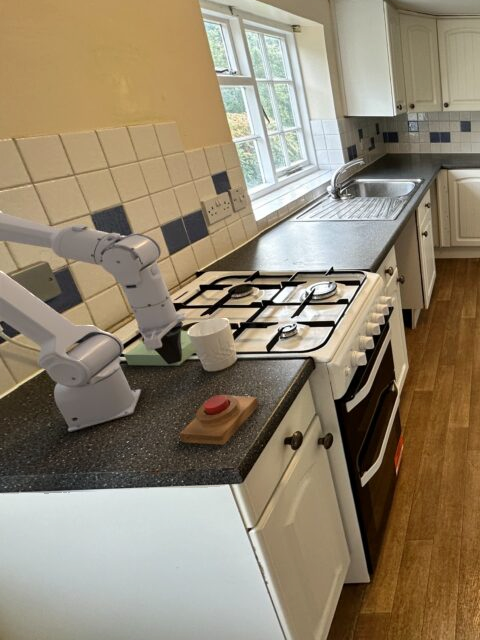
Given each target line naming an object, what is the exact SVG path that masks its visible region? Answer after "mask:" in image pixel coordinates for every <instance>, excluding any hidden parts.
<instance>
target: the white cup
mask: <svg viewBox="0 0 480 640" xmlns="http://www.w3.org/2000/svg"><path fill="white" fill-rule="evenodd" d="M186 331H187V333H188V336H189V338H190V340H191V343H192V345H193V347H194V350H195V354H196V356H197V358H198V360H199V361H200V363H201V366H202V368H203V370H205V371H206V372H217V371H221V370H225V369H226V368H229V367H231V366H233V364H235V363H236V362H237V360H238V355H237V351H236V343H235V338H234V334H233V330H232V327H231V322H230V320H229V319H228V318H226V317H212V318H208V319H204V320H202V321H199V322H196V323H194V324H193V325H191V326H190V327H189V328H188V329H187V330H186Z"/></svg>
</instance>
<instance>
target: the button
mask: <svg viewBox="0 0 480 640" xmlns="http://www.w3.org/2000/svg"><path fill="white" fill-rule="evenodd" d="M225 395H226V394H219V395H215V396H212V397H210V398H208V399H207V400H206V401H205V402H204V403H205V404H204V403H203V404H204V408H205V410H206V413H207V414H208V415H215V414H218V413H220V412H222V411H224V410H226V409H227V408H228V407H229V403H228V400H227V397H226V396H225Z"/></svg>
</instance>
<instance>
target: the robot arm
mask: <svg viewBox="0 0 480 640" xmlns="http://www.w3.org/2000/svg"><path fill="white" fill-rule="evenodd" d="M0 241H2V242H9V243H15V244H21V245H28V246H34V247H40V248H41V247H42V248H48V249H51V250H52V252H53V253H54V254H55V255H56V256H57V257H59V258H61V259H67V260H72V261H77V262H81V263H87V264H91V265H96V266H101V267H102V268H103V269H104V270H105V271H106V272H107V273H108V274H110V275H111V276H113V278H114V280H115V282H116V283H117V284H119V285H120V286H121V289H122V291H123V293H124V296H125V298H126V300H127V302H128V305H129V307H130V310H131V311H132V313H133V316H134V318H135V321H136V323H137V330H138V331H139V332H140V334H141V336H142V339H141V342H143V343H144V344H145V346H146V349H147V350H152V349H154V350H155V351H156V352H157V353H158V354H159V355H160V356H161V357H162V358H163V359H164V360H165V361H166V362H167V363H168V364H173V363H176V362H180V361H181V360H182V348H181V331H182V330H183V329H182V328H183V324H184V323H183V322H184V321H185V320H187V315H186V313H178V312H177V311H176V308H175V305H174V303H173V300H172V297H171V294H170V292H169V290H168V287H167V284H166V282H165V279H164V277H163V274H162V271H161V268H160V267H159V264H158V262H157V261H158V260H159V258H160V257H161V253H162V250H161V247H160V245H159V243H158V242H157V241H156V240H155V239H154V238H153V237H150V236H149V235H145V234H143V233H140V232H134V233H131V234H129V235H121V234H120V233H117V232H111V233H110V232H106V231H101V230H97V229H93V228H89V226H88V225H87V224H83V223H77V224H75V225H73V224H71V225H67V226H64V227H62V228H59V227H55V226H51V225H47V224H44V223H40V222H36V221H34V220H29V219H25V218H23V217H18V216H14V215H12V214H7V213H3V212H2V211H1V210H0ZM0 320H1V321H2V322H4V323H5V324H7V325H8V326H10V327H11V328H13V329H14V330H15V331H17V332H18V333H20V334H21V335H23V336H24V337H26V338H27V339H29V340H30V341H31V342H33V343H34V344H36V345H37V346H39V347H40V350H39V353H38V354H39V355H38V357H37V362H36V364H37V365H38V366H39V367H41V368H42V369H44V371H46V373H47V375H48V376H49V377H50V379H52V381H54V382H55V383H56V384H55V387H54V390H53V396H54V402H55V404H56V407H57V408H58V410H59V412H60V413H61V416H62V417H63V419H64V421H65V423H66V424H67V426H68V428H67V431H68V433H70V432H71V433H72V432H75V431H77V430H82V429H85V428H88V427H91V426H95V425H98V424H103V423H105V422H110V421H112V420H117V419H120V418H124V417H126V416H130V415H132V414H133V413H134V412H135V409H136V407H137V405H138V401H139V398H140V396H141V393H142V389H139V388H138V389H134V390H132V389H131V387H130V385H129V382H128V380H127V377H126V376H125V373H124V371H123V369H122V366H121V365H120V363H121V362H122V359H121V357H120V356H121V355H122V354H123V352H124V349H125V348H124V344H123V342H122V340H121V339H120V338H119V337H118V336H116V335H115V334H112V333H110V332H108V331H105V330H102V329H100V328H99V327H98V326H96V325H95V324H74V323H73V322H71V320H69V319H68V318H66V317H65V316H63V315H62V314H61V313H60V312H57V310H55V309H54V308H53V307H51V306H50V305H48V304H47V303H45V302H44V301H43V300H41V299H40V298H39V297H37V295H35V294H33V293H32V292H31V291H30V290H28V289H26V288H25V287H24V286H23V285H21V284H20V283H18V282H17V281H16V280H14V278H13V279H12V277H10V276H9V275H7V274H6V273H5V272H3V271H2V270H0ZM75 344H76V345H75ZM73 345H75V346H73ZM71 346H73V347H72V348H71V349H69V350H68V348H69V347H71Z"/></svg>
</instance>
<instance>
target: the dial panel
mask: <svg viewBox="0 0 480 640" xmlns="http://www.w3.org/2000/svg"><path fill="white" fill-rule="evenodd" d="M187 331H188V330H181V348H182V360H181V361H180V362H176V363H173V364H168V363H167V362H166V361H165V360H164V359H163V358H162V357H161V356H160V355H159V354H158V353H157V352H156V351H155V350H154V349H152V350H147V349H146V346H145V344H144V343H143V341H141V342H140V343H138V344H137V345H136V346H134V347H133V348H131V349H130V350H128V351H127V352H125V353H124V354H123V356H124V359H125V361H126V363H127V365H128V366H180V365H182V364H183V363H184V362H185V361H186V360H187V359H189V358H190V357H191V356H192V355H193V354H196V352H195V350H194V347H193V345H192V343H191V340H190V338H189V336H188V333H187Z"/></svg>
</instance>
